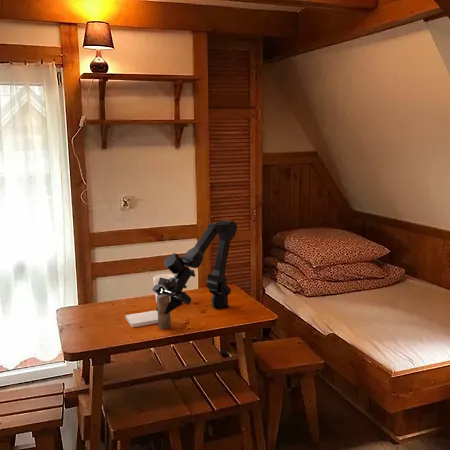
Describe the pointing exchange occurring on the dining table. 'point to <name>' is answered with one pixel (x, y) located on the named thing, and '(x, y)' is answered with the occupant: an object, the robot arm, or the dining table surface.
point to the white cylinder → (156, 280)
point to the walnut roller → (163, 312)
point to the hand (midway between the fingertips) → (161, 312)
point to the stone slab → (142, 318)
